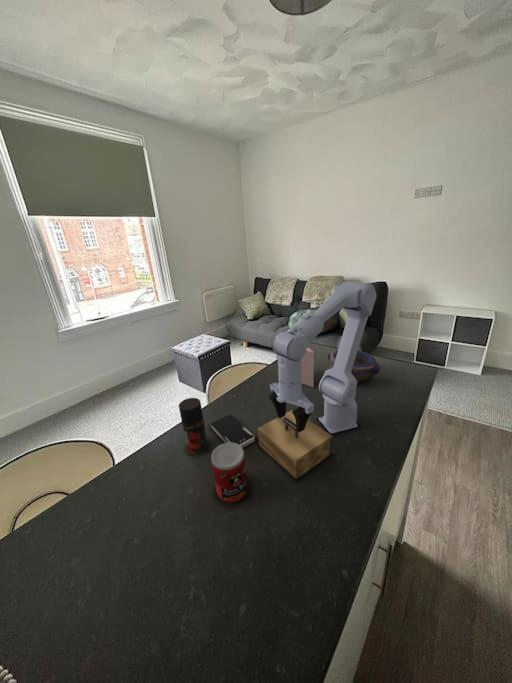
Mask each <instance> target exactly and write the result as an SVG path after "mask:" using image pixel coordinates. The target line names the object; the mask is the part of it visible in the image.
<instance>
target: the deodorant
mask: <svg viewBox="0 0 512 683" xmlns="http://www.w3.org/2000/svg"><path fill="white" fill-rule="evenodd" d="M178 409H179V415H180V418H181V419H180V420H181V425H182V430H183V435H184V440H185V444H186V448H187V452H188V453H190V454H192V455H197V454H200V453H203V452H204V451H206V449H207V448H208V439H207V434H206V427H205V421H204V416H203V408H202V403H201V400H200V399H199V398H197V397H188V398H186V399H183V400H181V401H180V402H179V403H178Z"/></svg>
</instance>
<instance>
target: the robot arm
mask: <svg viewBox="0 0 512 683" xmlns="http://www.w3.org/2000/svg"><path fill="white" fill-rule="evenodd" d="M377 297H378V295H377V292H376V289H375V286H374V285H373V284H372V283H361V282H351V281H345V280H340V281H339V282H337V284H336V285H335V286H333V287H332V290H331V295H329V297H327V298H326V299H325V301H324V302H323V303H322V304H321V305H320V306H319V307H318V308H317V310H315V311H314V313H312V312H309V313H304V314H303V315H302V316H301V318H300V319H299V320H298V321H297V322H295V323H294V324H293V325H292V326H291V327H290V328H289V329H288V330H287V331H282V332H280V333H278V334H277V335H276V336H275V337H274V339H273V344H271V348H272V350H273V353H275V356H276V357H275V358H276V359H277V369H278V370H277V372H278V382H276V381H275V382H272V383H270V384H269V390H270V391H271V392H272V393H271V394H269V395H268V398H269V400H270V401H271V403H272V404H273V407H274V408H275V412H276V415H277V418H278V417H279V418H282V417H283V416H285V414H286V413H287V404H290V405H293V406H295V407H296V406H297V407H298V408H296V409H293V410H294V411H292V413H293V415H294V417H295V420H296V427H297V431H298V432H301V431H303V430H305V426H306V423H307V420H309V418H310V417H311V415H312V414H313V412H314V411H315V404H314V403H312V402H311V401H310V400H309V399H308V398H307V396H306V395H305V394H304V393H303V391H302V388H303V387H302V385H303V384H302V382H301V357H303V356H304V354H305V353H306V350H307V347H308V348H309V346H310V343H311V342H312V341H313V340H314V339H315V338H316V337H317V336H318V335H320V333H321V332H323V330H324V324H325V322H327V321H328V320H330V319H331V318H332V317H333V316H334V315H335V314H337V313H338V312H339V311H340V310H343V312H345V314H346V316H347V319H346V322H345V325H344V329H343V332H342V335H341V340H340V343H339V346H338V349H337V350H338V353H337V356H336V360H335V363H334V366H333V368H329V369H326V370H325V371H324V374H323V376H322V377H321V379H320V381H319V384H318V390H319V392H320V394H322V398H323V400H324V402H323V406H324V407H323V416H320V417H318V420H319V422H320V423H321V424H322V426H323V427H324V428H325V429H326V430H327V431H328V433H329V434H330V435H333V434H336V433H339V432H345V431H348V430H351V429H355V428H358V426H359V424H357V421H358V418H357V417H358V404H357V401H356V399H355V398H356V396H357V386H358V383H357V380H356V379H355V377H354V376H353V374H352V373H351V371H352V367H353V364H354V361H355V358H356V354H357V351H359V347H360V344H361V341H362V338H363V334H364V331H365V328H366V324H367V321H368V318H369V317H370V316H372V312H373V310H374V306H375V303H376V300H377Z"/></svg>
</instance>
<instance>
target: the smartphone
mask: <svg viewBox="0 0 512 683" xmlns="http://www.w3.org/2000/svg"><path fill="white" fill-rule="evenodd" d="M210 427H211V429H212V430H213V431H214V432H215V433H216V435H217V436H219V438H220V439H221V440H222V441H223V443H228V442H232V443H236V444H238V445H240V446H241V447H242V448H243V449H244V448H245V447H247V446H249V445H250V444H253V443H254V442H255V441H256V440H255V439H256V437H255V435H254V434H253V433H252V432H250V430H248V429H247V428H246V427H245V426H244V425H243V424H241V423H240V421H239V420H237V419H236V418H235V417H234V416H233V415H232V414H228V415H226V416H223V417H221V418H219V419H217V420H215V421H212V422H211V424H210Z"/></svg>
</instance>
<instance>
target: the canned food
mask: <svg viewBox="0 0 512 683" xmlns="http://www.w3.org/2000/svg"><path fill="white" fill-rule="evenodd" d="M210 459H211V467H212V472H213V478H214V485H215V490H216V494H217V496H218V498H219V499H220V500H222V501H223V502H225V503H230V504H232V503H236V502H239V501H240V500H242V499H243V498H244V496H245V495H246V494H247V491H248V478H247V476H248V475H247V466H246V457H245V451H244V448H242V447H241V446H240V445H238V444H236V443H232V442H228V443H225V442H223V443H221V444H219V445H217V446H216V447H215V448H214V449H213V450H212V452H211V457H210Z"/></svg>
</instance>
